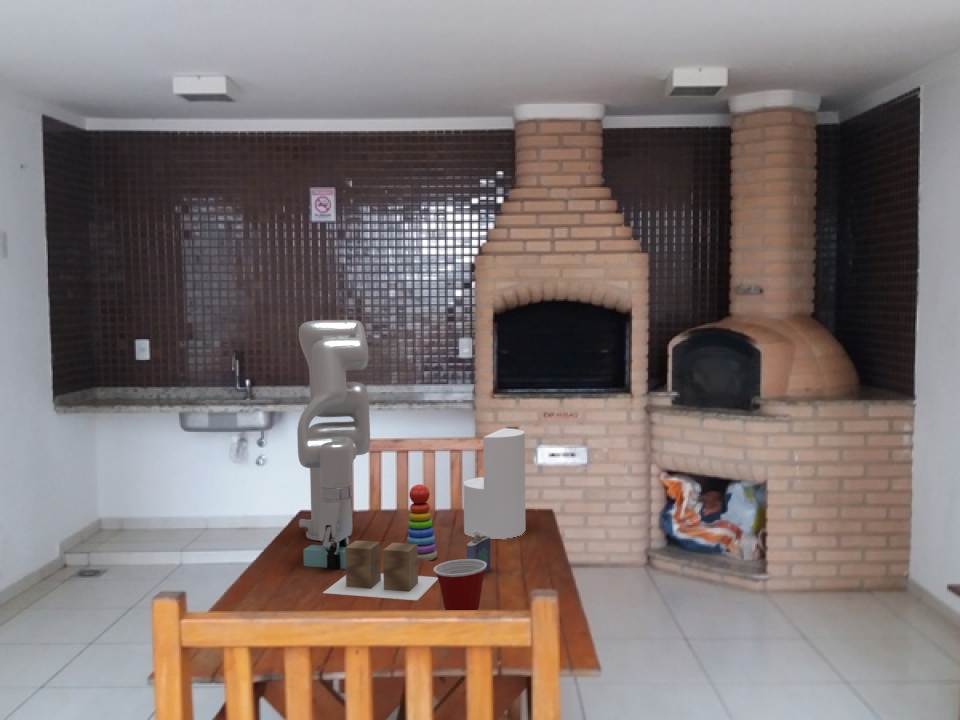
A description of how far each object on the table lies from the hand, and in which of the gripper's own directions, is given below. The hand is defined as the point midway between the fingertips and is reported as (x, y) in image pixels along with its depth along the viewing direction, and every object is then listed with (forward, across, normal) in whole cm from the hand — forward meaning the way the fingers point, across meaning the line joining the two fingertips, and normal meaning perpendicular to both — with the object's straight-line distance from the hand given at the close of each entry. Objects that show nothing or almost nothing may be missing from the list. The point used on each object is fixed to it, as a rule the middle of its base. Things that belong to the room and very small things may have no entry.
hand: (338, 566), depth 217 cm
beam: (+1, 0, 0) cm, 1 cm away
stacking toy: (+1, -13, +17) cm, 21 cm away
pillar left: (0, +12, +11) cm, 16 cm away
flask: (+1, -1, +35) cm, 35 cm away
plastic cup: (+1, +28, +39) cm, 48 cm away
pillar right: (0, +12, +20) cm, 24 cm away
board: (+1, +12, +16) cm, 20 cm away
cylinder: (+1, -42, +29) cm, 51 cm away
